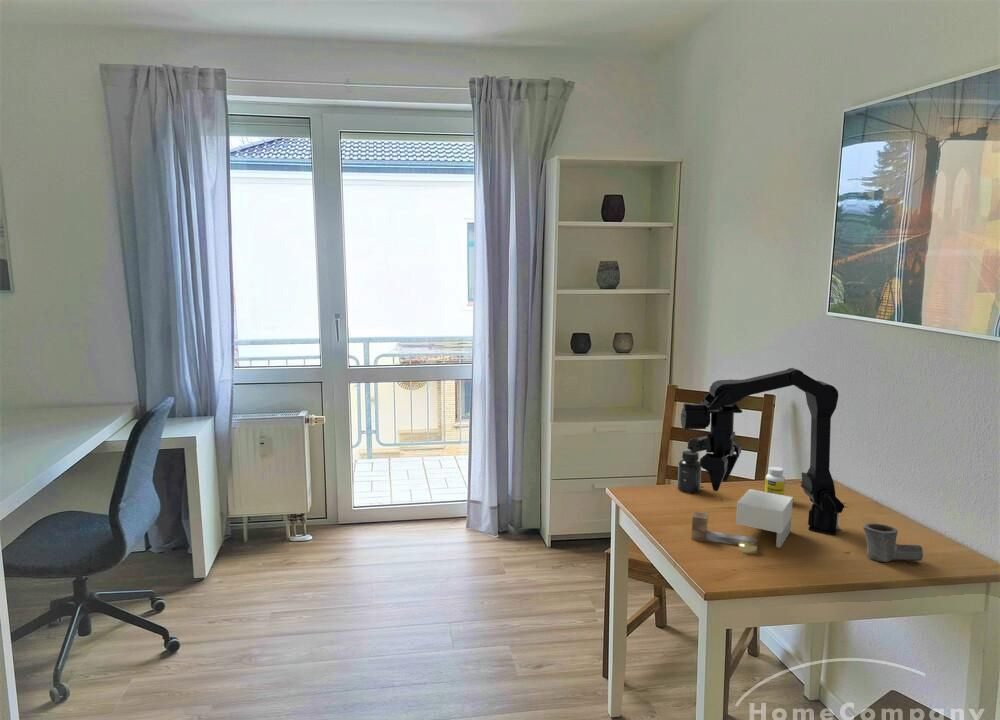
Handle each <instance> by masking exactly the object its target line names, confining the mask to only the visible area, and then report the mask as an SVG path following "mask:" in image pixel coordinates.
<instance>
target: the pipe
mask: <svg viewBox="0 0 1000 720" xmlns="http://www.w3.org/2000/svg"><path fill="white" fill-rule="evenodd" d="M862 528H863V531H864V533H865V537H866V545H867V547H866V548H867V549H866V552H867V553H866V555H867V557H868V558H869V559H871V560H873V561H877V562H884V563H886V562H887V563H888V562H890V561H904V562H905V561H906V562H909V561H910V562H921V561H922V560H923V557H924V552H923V548H922V546H921V545H919V544H897V543H896V542H897V536H898V529H897V528H895V527H894V526H893V527H892V526H889V525H886V524H883V523H882V524H881V523H876V522H875V523H872V522H871V523H865V524H864V525H863V526H862Z"/></svg>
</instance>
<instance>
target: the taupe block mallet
mask: <svg viewBox="0 0 1000 720" xmlns="http://www.w3.org/2000/svg"><path fill="white" fill-rule="evenodd" d="M691 518H692V520H691V521H692V522H691V536H690V537H691V540H692V541H699V542H706V541H707V542H714V543H719V542H722V543H721V544H726V543H727V544H728V545H733V544H734V545H733V546H738V543H739V542H740V541H751V542H754V543H756V544H757V538H756V537H751V536H743V535H738V534H737V535H736V534H732V533H724V532H717V531H711V530H708V518H709V513H706V512H700V511H699V512H698V511H693V514H692V517H691ZM727 544H726V545H727Z"/></svg>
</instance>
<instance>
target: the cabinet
mask: <svg viewBox="0 0 1000 720" xmlns="http://www.w3.org/2000/svg"><path fill="white" fill-rule="evenodd" d="M793 501H794V496H789V495H785V494H784V495H779V494H773V493H768V492H765V491H762V490H756V489H752V488H751V489H750V488H749V489H748V490H747V491H746V492H745V493H744V494H743V495H742V496H741V497H740V498H739V499H738V500H737V502H736V514H735V515H736V516H735V518H736V519H735V524H737V525H740V526H745V527H746V526H747V527H749V528H750V527H751V528H756V529H758V530H759V529H760V530H764V531H769V532H773V533H776V543H775V548H778V547H779V549H780V547H782V545H784V543H785V541H786V539H787V538H788V536H789V535H790V533H791V528H792V515H793Z"/></svg>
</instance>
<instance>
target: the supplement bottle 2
mask: <svg viewBox="0 0 1000 720" xmlns="http://www.w3.org/2000/svg"><path fill="white" fill-rule="evenodd" d="M785 483H786V478H785V476H784V468H782V467H779V466H769V467H768V473H767V474H766V475H765V483H764V492H768V493H773V494H779V495H784V496H785V487H786V486H785V485H786V484H785Z"/></svg>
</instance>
